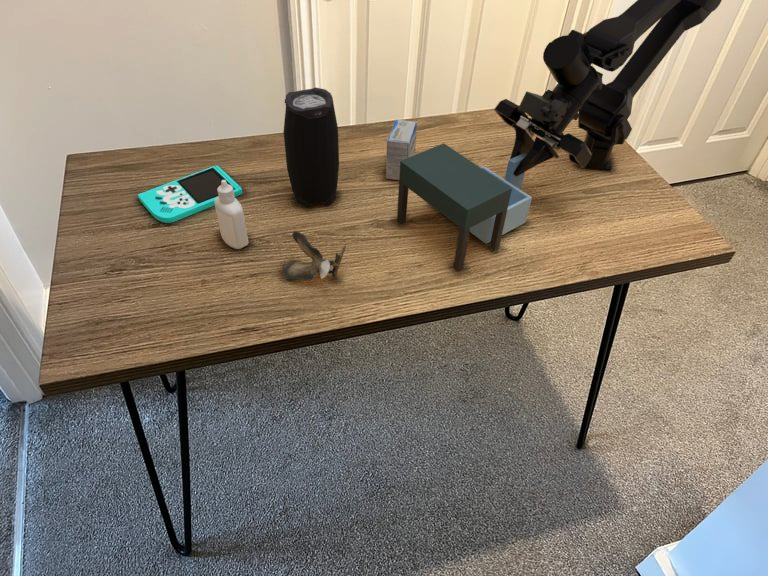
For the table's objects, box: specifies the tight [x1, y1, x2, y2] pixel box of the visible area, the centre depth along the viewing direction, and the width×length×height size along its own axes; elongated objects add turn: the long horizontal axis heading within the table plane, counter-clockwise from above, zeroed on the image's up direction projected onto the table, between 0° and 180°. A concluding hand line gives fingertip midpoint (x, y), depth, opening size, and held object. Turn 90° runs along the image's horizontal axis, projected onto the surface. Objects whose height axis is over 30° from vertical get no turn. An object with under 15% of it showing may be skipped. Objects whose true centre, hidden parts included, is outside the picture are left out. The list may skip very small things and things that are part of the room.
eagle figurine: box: [283, 230, 347, 281], centre depth 94 cm, size 8×7×9 cm
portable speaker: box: [283, 87, 340, 208], centre depth 103 cm, size 9×9×20 cm
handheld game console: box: [137, 165, 244, 224], centre depth 109 cm, size 10×16×1 cm, turn 129°
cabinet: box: [396, 143, 512, 272], centre depth 99 cm, size 10×16×12 cm, turn 38°
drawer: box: [469, 153, 533, 245], centre depth 105 cm, size 14×12×10 cm
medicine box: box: [385, 119, 418, 181], centre depth 114 cm, size 8×4×9 cm, turn 168°
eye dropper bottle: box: [214, 180, 250, 250], centre depth 97 cm, size 4×6×12 cm
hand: (511, 173), depth 105 cm, fingers closed on drawer
